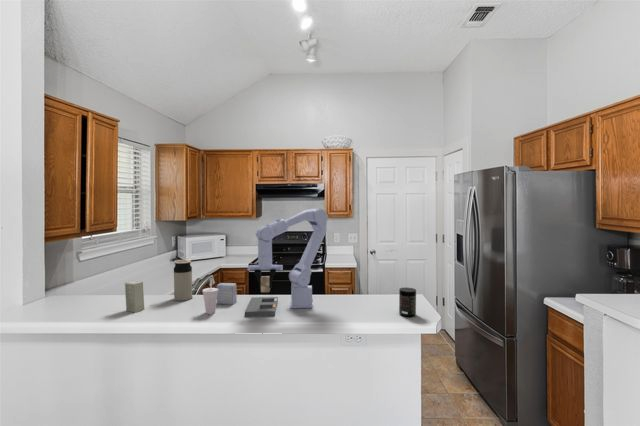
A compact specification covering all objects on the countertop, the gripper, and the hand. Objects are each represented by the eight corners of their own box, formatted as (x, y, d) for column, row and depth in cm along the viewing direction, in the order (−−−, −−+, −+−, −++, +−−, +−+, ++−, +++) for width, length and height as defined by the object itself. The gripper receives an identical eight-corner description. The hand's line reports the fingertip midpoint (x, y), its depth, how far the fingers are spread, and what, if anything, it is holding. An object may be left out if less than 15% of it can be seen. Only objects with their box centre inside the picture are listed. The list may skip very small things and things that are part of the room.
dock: (277, 301, 160) (277, 296, 160) (274, 316, 140) (274, 310, 140) (251, 301, 160) (251, 296, 159) (244, 316, 140) (244, 311, 139)
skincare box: (144, 309, 148) (143, 281, 148) (135, 312, 144) (134, 284, 144) (134, 307, 151) (133, 280, 151) (125, 310, 147) (124, 282, 146)
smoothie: (221, 310, 147) (221, 278, 146) (212, 315, 141) (211, 281, 140) (209, 309, 149) (208, 277, 148) (199, 314, 143) (198, 280, 142)
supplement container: (417, 313, 143) (417, 288, 142) (413, 318, 137) (414, 292, 136) (401, 311, 146) (401, 286, 146) (397, 316, 140) (397, 290, 140)
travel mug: (183, 301, 159) (183, 263, 159) (170, 300, 162) (169, 261, 162) (196, 297, 167) (195, 260, 166) (183, 295, 170) (182, 259, 169)
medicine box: (236, 301, 160) (236, 283, 159) (233, 304, 155) (233, 285, 155) (220, 301, 160) (220, 282, 160) (216, 304, 156) (216, 285, 156)
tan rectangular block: (270, 289, 148) (269, 276, 147) (269, 292, 144) (269, 277, 144) (261, 290, 148) (261, 276, 147) (260, 292, 144) (260, 278, 144)
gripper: (246, 257, 141) (246, 290, 141) (281, 256, 142) (282, 289, 142) (248, 254, 148) (249, 285, 148) (282, 253, 149) (283, 285, 149)
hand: (265, 287), depth 146 cm, fingers closed on tan rectangular block, 3 cm apart
